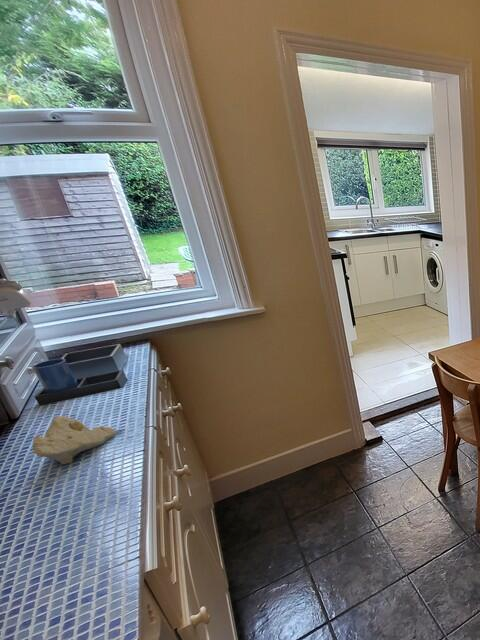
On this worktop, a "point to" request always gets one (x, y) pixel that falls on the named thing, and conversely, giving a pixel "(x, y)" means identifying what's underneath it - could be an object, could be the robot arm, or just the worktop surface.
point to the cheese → (69, 439)
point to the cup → (55, 375)
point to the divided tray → (85, 387)
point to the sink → (96, 361)
